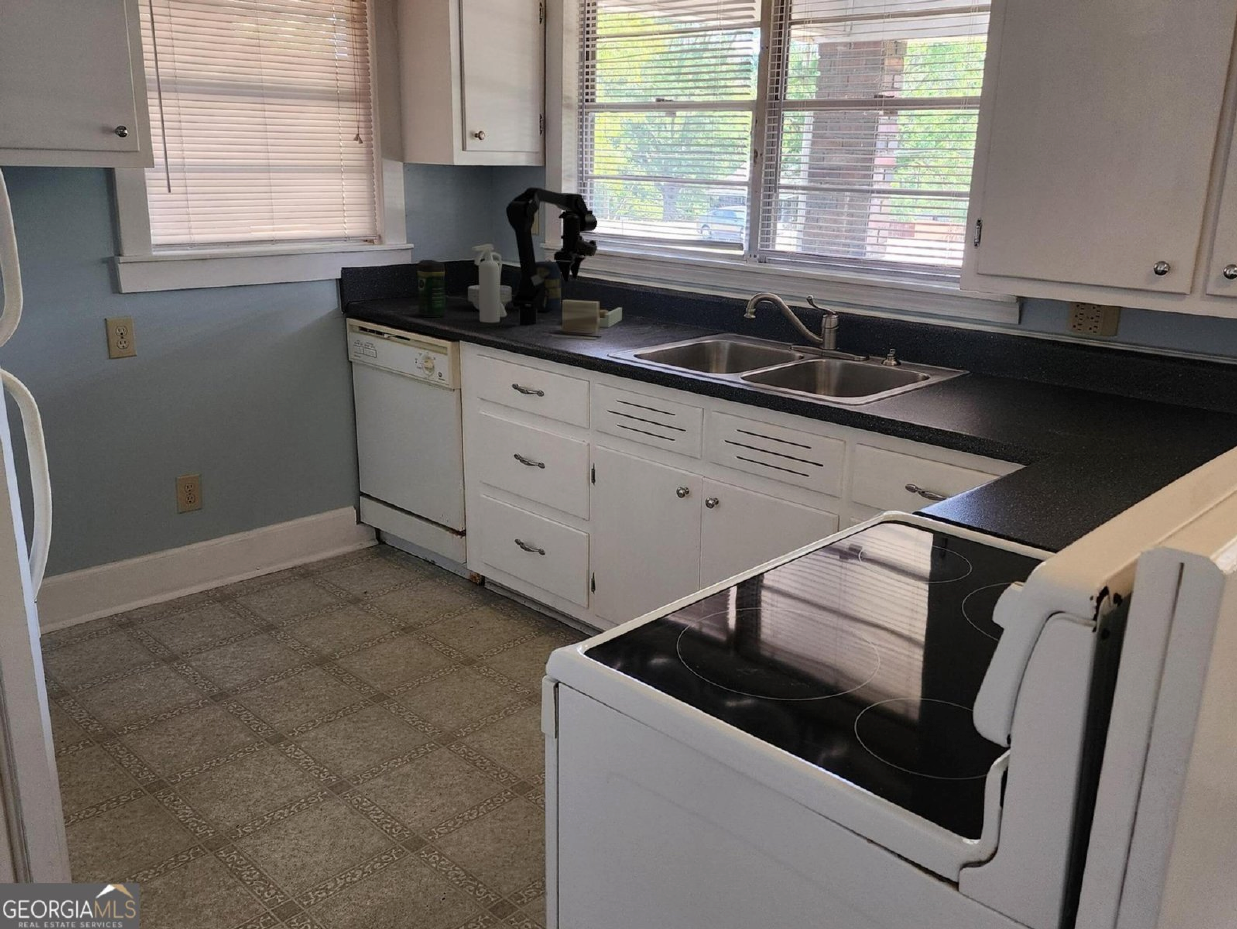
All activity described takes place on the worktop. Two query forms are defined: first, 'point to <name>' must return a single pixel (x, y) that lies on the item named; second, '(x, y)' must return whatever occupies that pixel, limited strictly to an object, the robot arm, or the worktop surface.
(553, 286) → the canister
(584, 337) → the grey mat
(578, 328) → the tan wooden block
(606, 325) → the rack
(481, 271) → the fire extinguisher
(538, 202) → the robot arm
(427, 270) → the coffee jar
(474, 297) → the paper bowls
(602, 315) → the offcut stack
